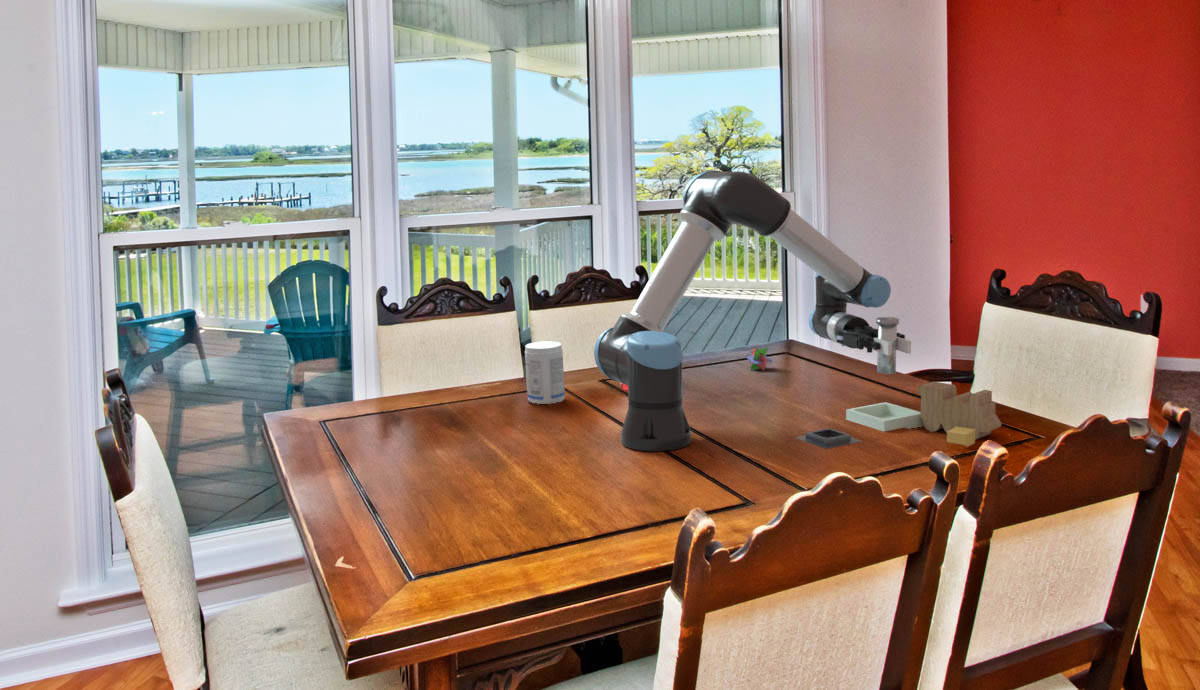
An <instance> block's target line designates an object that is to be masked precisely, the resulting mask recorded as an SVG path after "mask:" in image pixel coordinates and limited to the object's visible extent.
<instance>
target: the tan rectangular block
mask: <svg viewBox="0 0 1200 690" xmlns="http://www.w3.org/2000/svg"><path fill="white" fill-rule="evenodd" d="M946 443H948V444H949V443H950V444H956V445H961V446H964V447H968V446H969V447H971V446H973V445H975V443H976V440H975V429H970V428H964V427H958V426H957V427H955V428H953V429H951V430H949V431H947V433H946ZM972 444H973V445H972ZM970 445H971V446H970Z"/></svg>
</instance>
